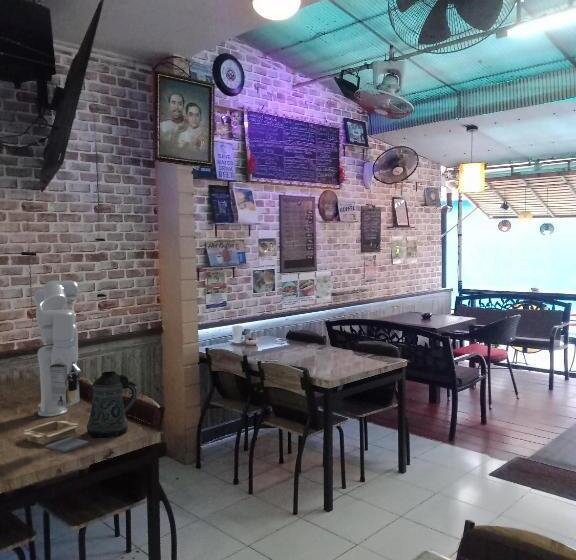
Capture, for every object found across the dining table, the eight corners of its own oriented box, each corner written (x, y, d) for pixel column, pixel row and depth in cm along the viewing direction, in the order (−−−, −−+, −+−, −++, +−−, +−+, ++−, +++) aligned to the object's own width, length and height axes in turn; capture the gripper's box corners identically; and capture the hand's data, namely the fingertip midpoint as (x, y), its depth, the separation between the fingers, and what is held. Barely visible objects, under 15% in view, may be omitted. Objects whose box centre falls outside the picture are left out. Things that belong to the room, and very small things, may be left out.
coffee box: (65, 400, 221) (64, 360, 220) (80, 401, 219) (79, 361, 219) (51, 407, 212) (49, 365, 211) (66, 408, 210) (65, 365, 210)
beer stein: (79, 433, 231) (77, 373, 230) (121, 422, 245) (119, 365, 244) (100, 442, 220) (98, 379, 218) (142, 430, 234) (141, 370, 233)
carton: (17, 441, 222) (17, 431, 222) (57, 428, 238) (57, 418, 238) (44, 447, 214) (44, 437, 214) (84, 433, 230) (83, 424, 230)
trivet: (45, 447, 214) (45, 445, 214) (69, 439, 224) (69, 437, 224) (65, 452, 209) (65, 450, 209) (88, 443, 218) (88, 441, 218)
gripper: (40, 343, 216) (42, 389, 216) (71, 347, 207) (72, 394, 208) (57, 341, 222) (58, 385, 223) (87, 344, 213) (89, 389, 214)
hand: (65, 389), depth 215 cm, fingers closed on coffee box, 7 cm apart
